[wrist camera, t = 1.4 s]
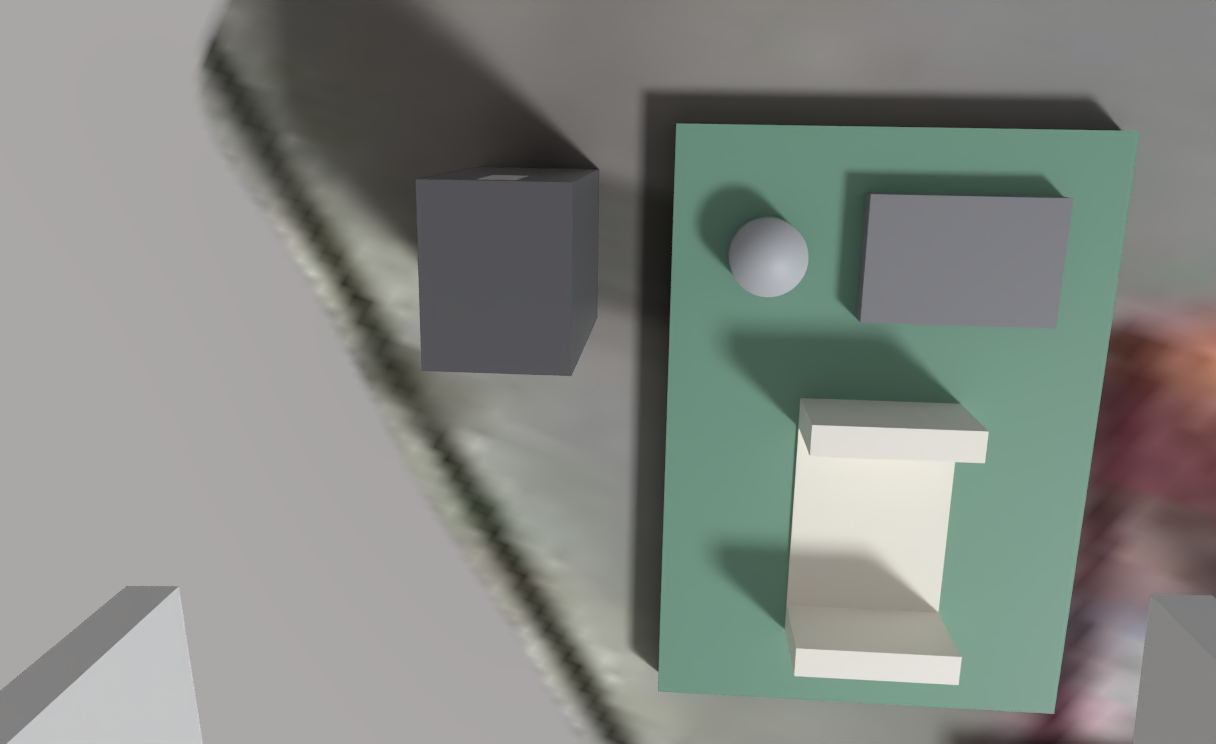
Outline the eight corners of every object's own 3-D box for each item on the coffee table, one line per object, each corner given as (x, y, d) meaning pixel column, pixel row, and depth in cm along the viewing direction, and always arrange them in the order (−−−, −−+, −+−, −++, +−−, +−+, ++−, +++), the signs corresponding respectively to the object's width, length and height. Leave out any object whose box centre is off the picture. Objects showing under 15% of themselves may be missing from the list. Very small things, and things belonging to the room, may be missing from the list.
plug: (479, 166, 32) (415, 178, 24) (599, 168, 32) (572, 181, 24) (482, 315, 33) (421, 371, 26) (597, 318, 33) (571, 376, 25)
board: (676, 123, 31) (675, 122, 27) (1122, 130, 30) (1190, 131, 26) (658, 673, 36) (655, 742, 32) (1041, 694, 35) (1088, 768, 31)
